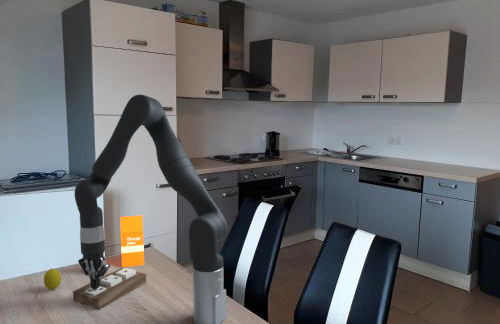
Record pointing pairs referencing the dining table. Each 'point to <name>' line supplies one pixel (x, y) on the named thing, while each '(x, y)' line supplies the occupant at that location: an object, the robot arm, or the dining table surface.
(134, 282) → the button panel
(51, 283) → the lemon
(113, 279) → the button two
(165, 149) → the robot arm
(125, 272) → the button one
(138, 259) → the orange juice
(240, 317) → the dining table surface
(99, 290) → the button three
